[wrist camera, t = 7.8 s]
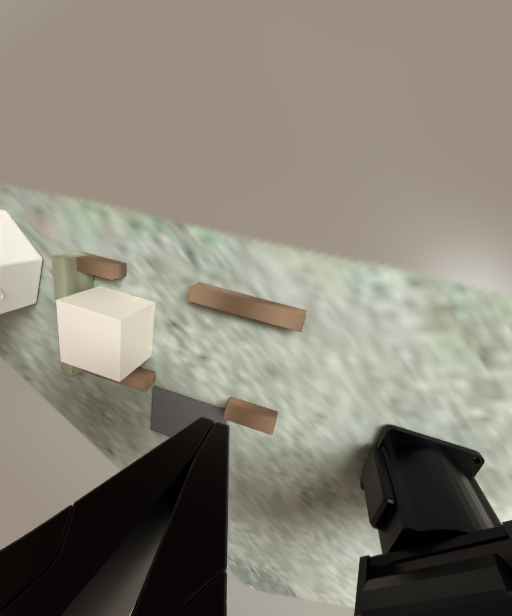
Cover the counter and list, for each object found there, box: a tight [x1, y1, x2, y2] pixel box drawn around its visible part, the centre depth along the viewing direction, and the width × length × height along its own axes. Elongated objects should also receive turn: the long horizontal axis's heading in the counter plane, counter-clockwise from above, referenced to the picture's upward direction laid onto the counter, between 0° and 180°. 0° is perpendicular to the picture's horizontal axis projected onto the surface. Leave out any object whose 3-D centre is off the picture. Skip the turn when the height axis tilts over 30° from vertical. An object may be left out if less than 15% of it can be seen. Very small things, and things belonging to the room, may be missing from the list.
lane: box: [52, 252, 306, 435], centre depth 20 cm, size 18×10×2 cm, turn 78°
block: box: [56, 286, 155, 382], centre depth 20 cm, size 5×5×4 cm
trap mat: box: [151, 386, 227, 437], centre depth 24 cm, size 7×5×1 cm
